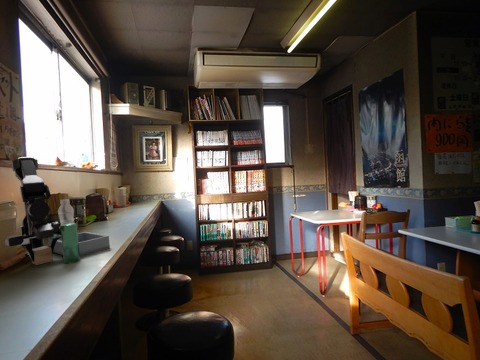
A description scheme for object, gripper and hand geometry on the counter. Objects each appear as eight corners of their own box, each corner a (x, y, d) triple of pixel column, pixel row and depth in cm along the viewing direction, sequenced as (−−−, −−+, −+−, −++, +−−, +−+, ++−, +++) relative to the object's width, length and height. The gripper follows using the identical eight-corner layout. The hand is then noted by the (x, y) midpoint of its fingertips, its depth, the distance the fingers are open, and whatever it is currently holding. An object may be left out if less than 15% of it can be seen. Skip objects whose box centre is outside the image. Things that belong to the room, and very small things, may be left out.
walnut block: (32, 263, 105) (30, 249, 104) (48, 259, 109) (46, 245, 108) (36, 265, 101) (34, 251, 101) (52, 260, 105) (51, 247, 105)
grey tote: (51, 251, 120) (50, 239, 120) (86, 242, 131) (85, 231, 131) (72, 258, 106) (71, 244, 106) (110, 248, 117) (108, 235, 117)
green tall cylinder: (61, 262, 102) (57, 225, 102) (77, 258, 106) (73, 222, 106) (67, 264, 99) (63, 226, 99) (82, 260, 103) (78, 223, 102)
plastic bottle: (70, 243, 134) (65, 199, 133) (57, 243, 135) (52, 200, 134) (80, 239, 140) (76, 198, 139) (68, 239, 141) (64, 199, 141)
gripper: (10, 222, 92) (16, 271, 93) (74, 212, 106) (78, 254, 107) (2, 221, 99) (7, 266, 100) (62, 211, 113) (67, 251, 114)
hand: (42, 259), depth 105 cm, fingers closed on walnut block, 5 cm apart
